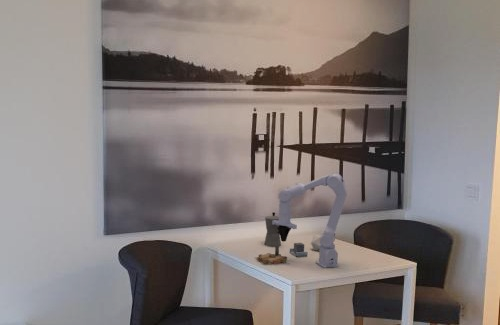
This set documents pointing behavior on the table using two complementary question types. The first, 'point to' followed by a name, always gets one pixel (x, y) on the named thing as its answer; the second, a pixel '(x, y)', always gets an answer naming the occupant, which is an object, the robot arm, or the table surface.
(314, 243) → the grey faceted polyhedron
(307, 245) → the table surface
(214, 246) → the table surface
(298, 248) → the dark grey block
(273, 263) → the thin square base plate
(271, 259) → the sprocket
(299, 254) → the seat
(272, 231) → the coffeepot
